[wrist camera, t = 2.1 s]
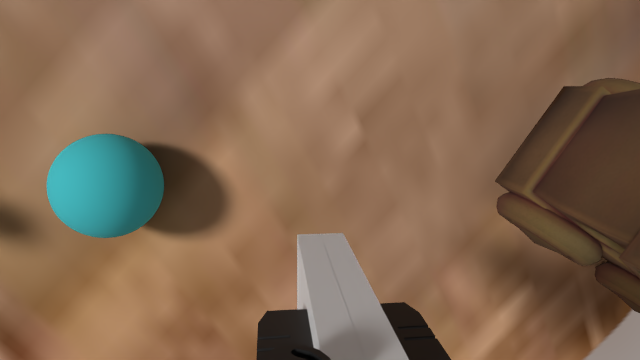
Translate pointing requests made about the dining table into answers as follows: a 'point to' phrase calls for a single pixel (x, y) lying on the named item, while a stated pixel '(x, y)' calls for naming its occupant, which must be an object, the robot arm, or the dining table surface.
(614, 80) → the wooden toy train
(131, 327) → the dining table surface
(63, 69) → the dining table surface
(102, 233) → the ball
